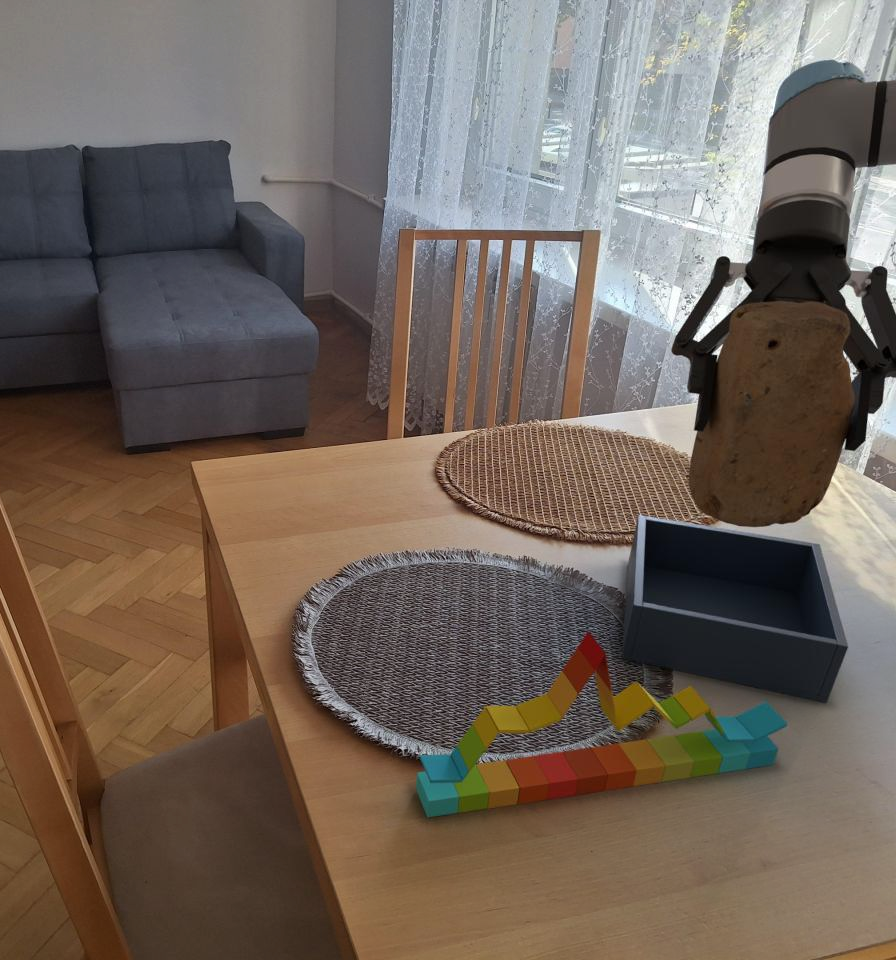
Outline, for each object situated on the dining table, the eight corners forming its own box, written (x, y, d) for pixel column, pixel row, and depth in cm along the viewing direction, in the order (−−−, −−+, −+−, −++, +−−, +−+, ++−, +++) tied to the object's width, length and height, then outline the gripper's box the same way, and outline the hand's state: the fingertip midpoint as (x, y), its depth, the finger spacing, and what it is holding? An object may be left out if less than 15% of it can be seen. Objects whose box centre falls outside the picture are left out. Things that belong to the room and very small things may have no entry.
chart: (748, 737, 75) (794, 599, 68) (772, 764, 73) (823, 624, 65) (414, 786, 72) (426, 647, 65) (427, 818, 69) (440, 675, 62)
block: (699, 527, 80) (752, 321, 70) (677, 488, 86) (723, 294, 77) (825, 534, 78) (897, 323, 69) (793, 493, 85) (855, 295, 75)
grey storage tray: (802, 595, 93) (819, 543, 90) (827, 703, 79) (848, 647, 75) (627, 563, 99) (638, 514, 96) (621, 658, 85) (633, 604, 82)
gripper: (936, 249, 80) (918, 469, 75) (660, 234, 88) (627, 431, 83) (973, 201, 73) (956, 440, 68) (670, 190, 81) (636, 402, 76)
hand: (775, 435), depth 76 cm, fingers closed on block, 11 cm apart
